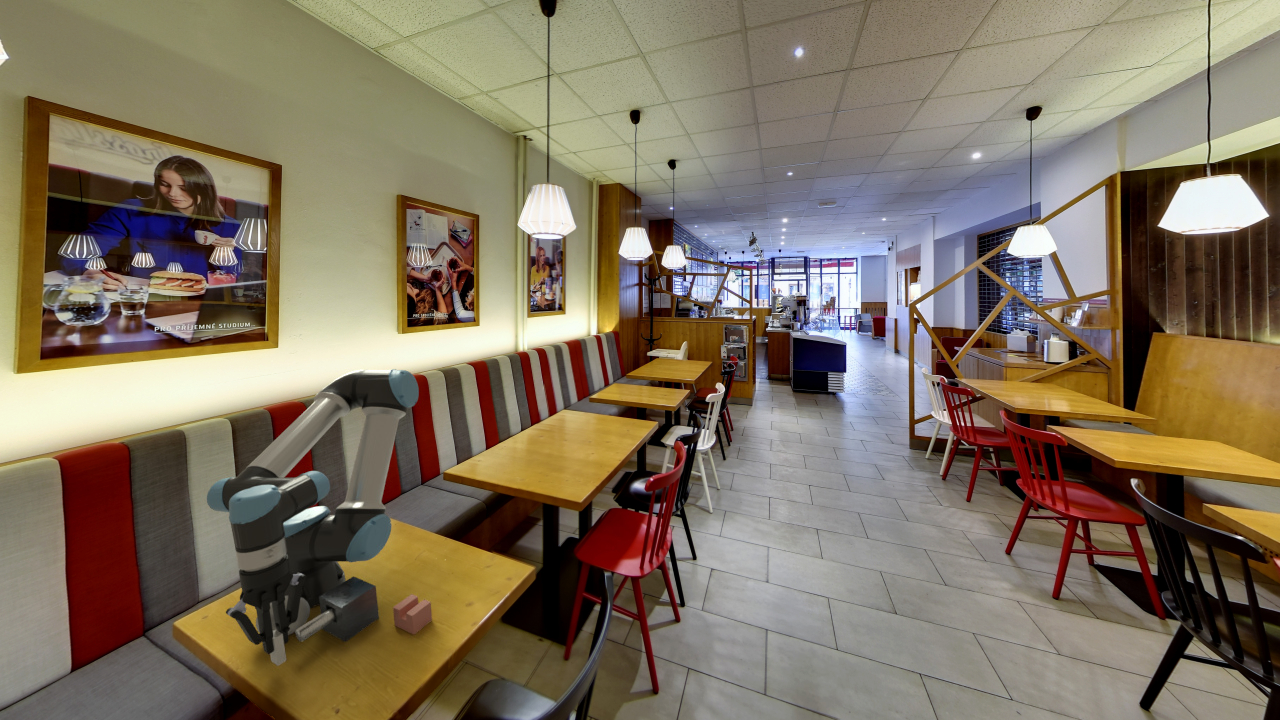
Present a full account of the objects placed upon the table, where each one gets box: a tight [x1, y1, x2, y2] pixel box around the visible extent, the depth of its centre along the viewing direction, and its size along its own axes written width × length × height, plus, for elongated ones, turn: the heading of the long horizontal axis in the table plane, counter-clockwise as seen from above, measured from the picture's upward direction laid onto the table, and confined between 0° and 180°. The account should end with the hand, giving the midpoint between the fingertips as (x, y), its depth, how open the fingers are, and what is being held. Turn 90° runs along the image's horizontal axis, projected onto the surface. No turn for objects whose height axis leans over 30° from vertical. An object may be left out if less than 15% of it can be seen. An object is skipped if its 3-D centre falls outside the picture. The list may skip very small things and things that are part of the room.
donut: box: [255, 596, 311, 636], centre depth 96 cm, size 10×4×10 cm, turn 117°
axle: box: [294, 607, 336, 643], centre depth 96 cm, size 3×14×3 cm, turn 155°
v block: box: [392, 593, 433, 635], centre depth 100 cm, size 7×5×5 cm
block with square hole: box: [319, 576, 380, 643], centre depth 99 cm, size 9×8×9 cm
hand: (278, 660), depth 87 cm, fingers closed
